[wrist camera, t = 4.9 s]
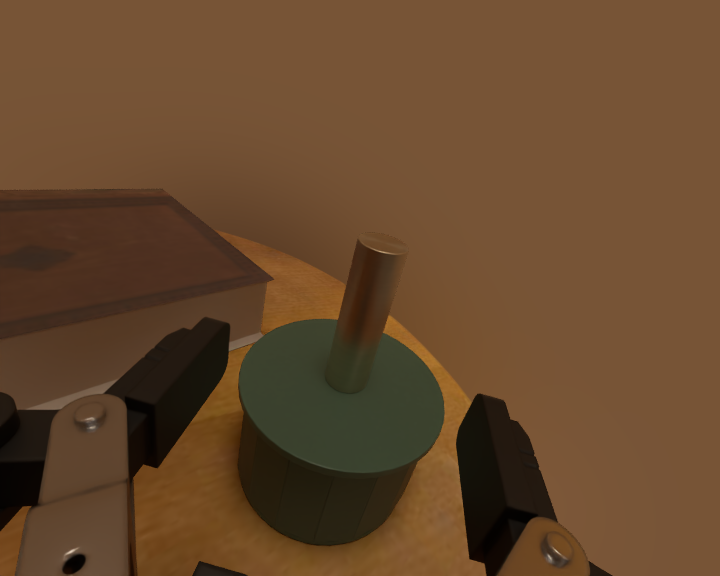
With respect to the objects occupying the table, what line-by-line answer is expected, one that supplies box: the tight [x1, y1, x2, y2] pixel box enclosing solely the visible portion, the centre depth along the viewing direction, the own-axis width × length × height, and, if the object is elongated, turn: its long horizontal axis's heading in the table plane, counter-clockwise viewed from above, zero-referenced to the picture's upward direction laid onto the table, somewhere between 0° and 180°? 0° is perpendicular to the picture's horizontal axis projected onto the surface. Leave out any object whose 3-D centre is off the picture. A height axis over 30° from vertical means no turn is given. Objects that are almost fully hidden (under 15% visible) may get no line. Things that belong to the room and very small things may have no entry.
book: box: [0, 189, 275, 410], centre depth 30 cm, size 24×28×6 cm
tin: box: [238, 413, 417, 545], centre depth 24 cm, size 11×11×7 cm
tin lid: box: [238, 232, 445, 479], centre depth 20 cm, size 12×12×10 cm
